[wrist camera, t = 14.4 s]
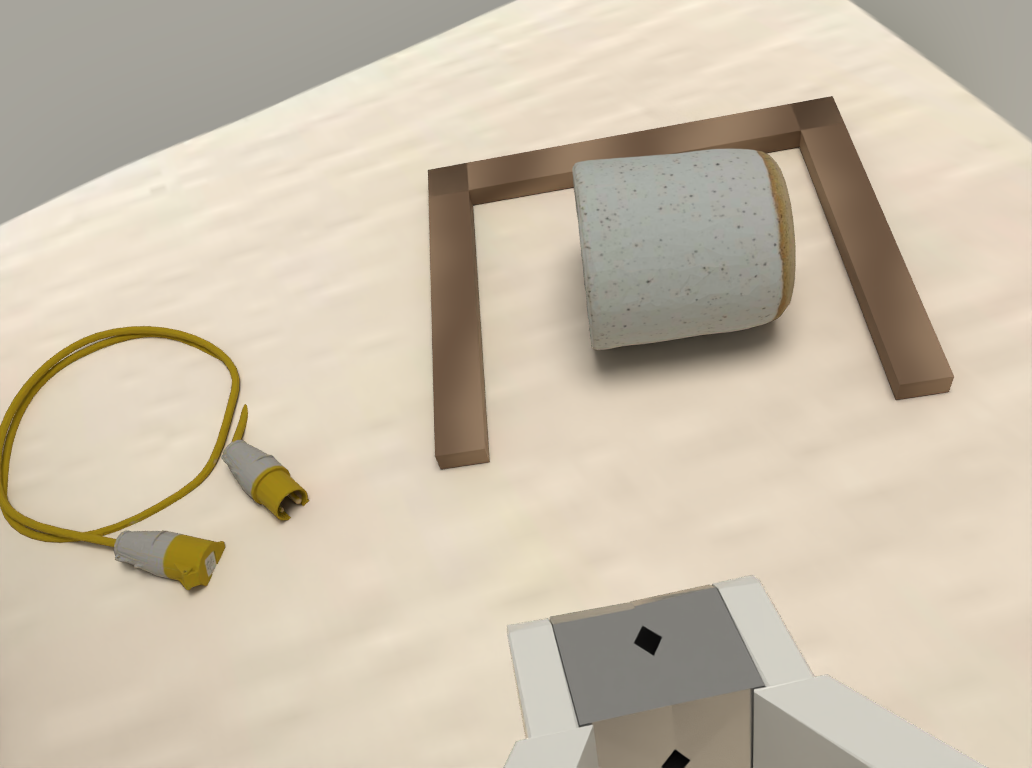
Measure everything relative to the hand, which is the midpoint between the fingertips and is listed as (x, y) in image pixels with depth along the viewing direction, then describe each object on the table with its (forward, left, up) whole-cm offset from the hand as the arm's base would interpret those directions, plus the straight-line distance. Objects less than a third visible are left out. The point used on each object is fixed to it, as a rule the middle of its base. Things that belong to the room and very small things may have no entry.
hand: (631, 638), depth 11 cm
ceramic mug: (+4, +24, -22) cm, 33 cm away
